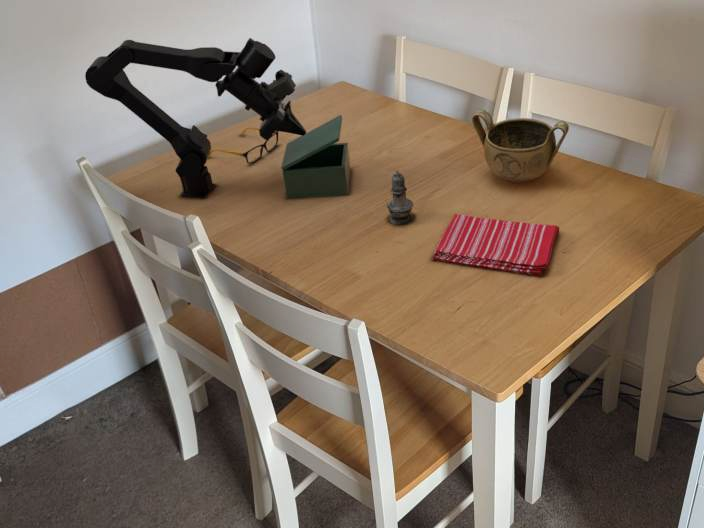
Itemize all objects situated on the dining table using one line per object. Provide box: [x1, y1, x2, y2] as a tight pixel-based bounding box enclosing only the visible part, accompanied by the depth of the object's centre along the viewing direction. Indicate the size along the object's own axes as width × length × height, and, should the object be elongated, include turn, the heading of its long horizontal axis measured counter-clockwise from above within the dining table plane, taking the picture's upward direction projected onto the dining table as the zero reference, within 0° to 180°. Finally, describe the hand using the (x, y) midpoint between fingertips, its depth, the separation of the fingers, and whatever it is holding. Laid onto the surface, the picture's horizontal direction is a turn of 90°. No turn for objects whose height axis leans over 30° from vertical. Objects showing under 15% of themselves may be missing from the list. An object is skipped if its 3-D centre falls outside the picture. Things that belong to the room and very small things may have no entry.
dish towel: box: [431, 213, 560, 277], centre depth 166 cm, size 17×24×3 cm
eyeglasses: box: [208, 126, 280, 165], centre depth 211 cm, size 14×14×4 cm
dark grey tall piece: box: [386, 170, 414, 226], centre depth 175 cm, size 6×6×12 cm
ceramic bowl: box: [471, 108, 570, 183], centre depth 186 cm, size 22×17×15 cm
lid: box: [280, 114, 343, 171], centre depth 188 cm, size 15×13×1 cm
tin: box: [282, 142, 351, 199], centre depth 192 cm, size 15×13×7 cm
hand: (305, 133), depth 187 cm, fingers closed
